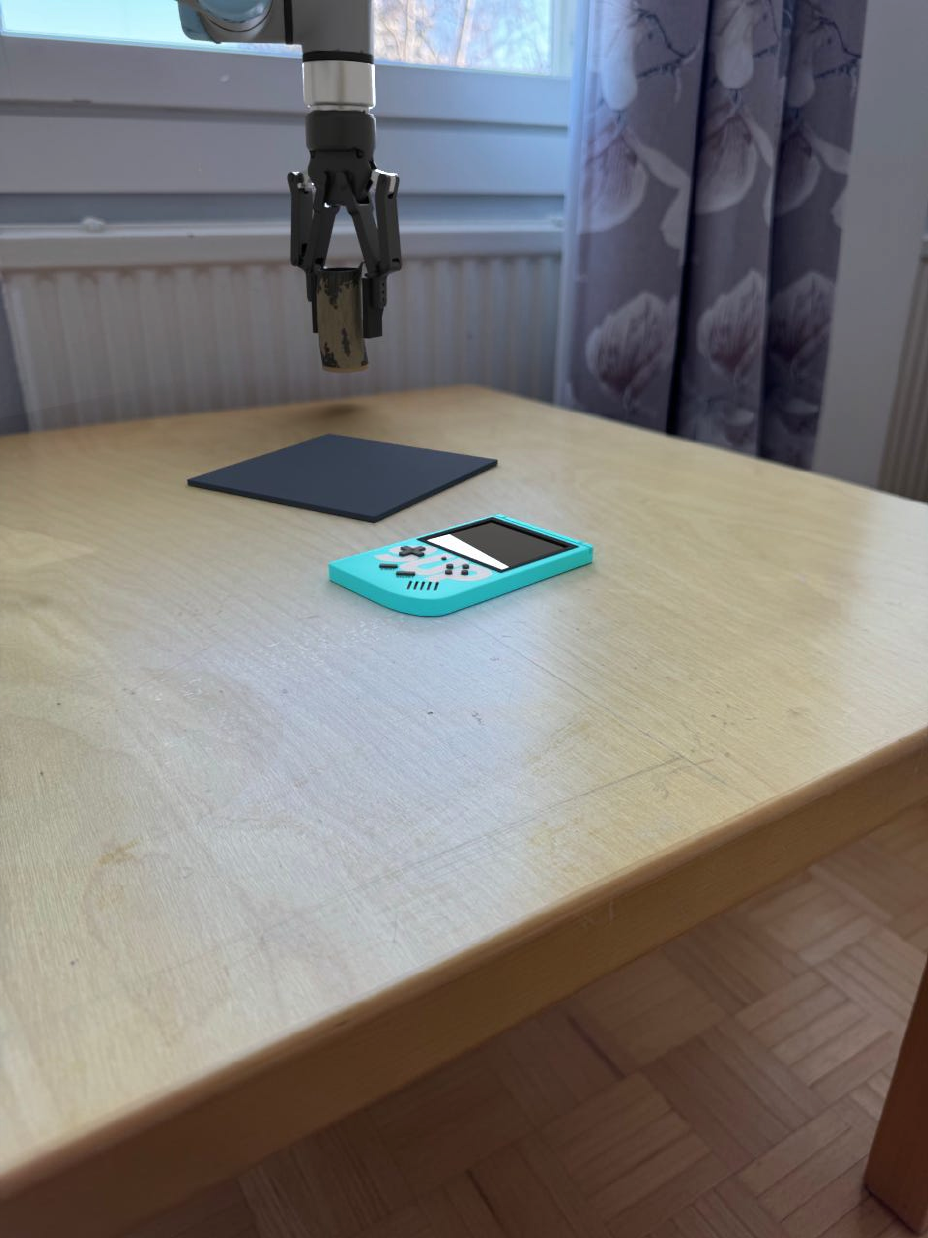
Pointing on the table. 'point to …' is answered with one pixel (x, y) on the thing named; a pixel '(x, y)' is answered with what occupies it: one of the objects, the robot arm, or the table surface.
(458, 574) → the handheld game console
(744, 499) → the table surface
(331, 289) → the mug
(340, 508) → the mat
